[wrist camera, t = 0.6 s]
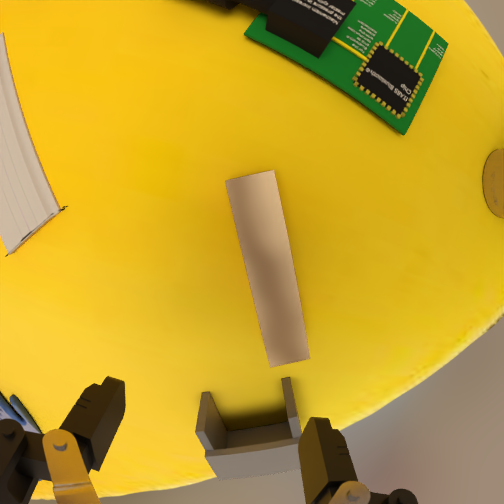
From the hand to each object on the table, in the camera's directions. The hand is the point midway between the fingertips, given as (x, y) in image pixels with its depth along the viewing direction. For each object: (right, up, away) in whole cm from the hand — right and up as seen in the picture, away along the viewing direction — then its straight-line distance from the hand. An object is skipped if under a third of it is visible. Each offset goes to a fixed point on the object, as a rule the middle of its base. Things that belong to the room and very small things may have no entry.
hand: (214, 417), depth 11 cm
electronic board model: (+8, +33, +13) cm, 36 cm away
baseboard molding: (-31, +23, +15) cm, 41 cm away
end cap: (+2, -14, +24) cm, 28 cm away
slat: (+3, +6, +20) cm, 21 cm away
